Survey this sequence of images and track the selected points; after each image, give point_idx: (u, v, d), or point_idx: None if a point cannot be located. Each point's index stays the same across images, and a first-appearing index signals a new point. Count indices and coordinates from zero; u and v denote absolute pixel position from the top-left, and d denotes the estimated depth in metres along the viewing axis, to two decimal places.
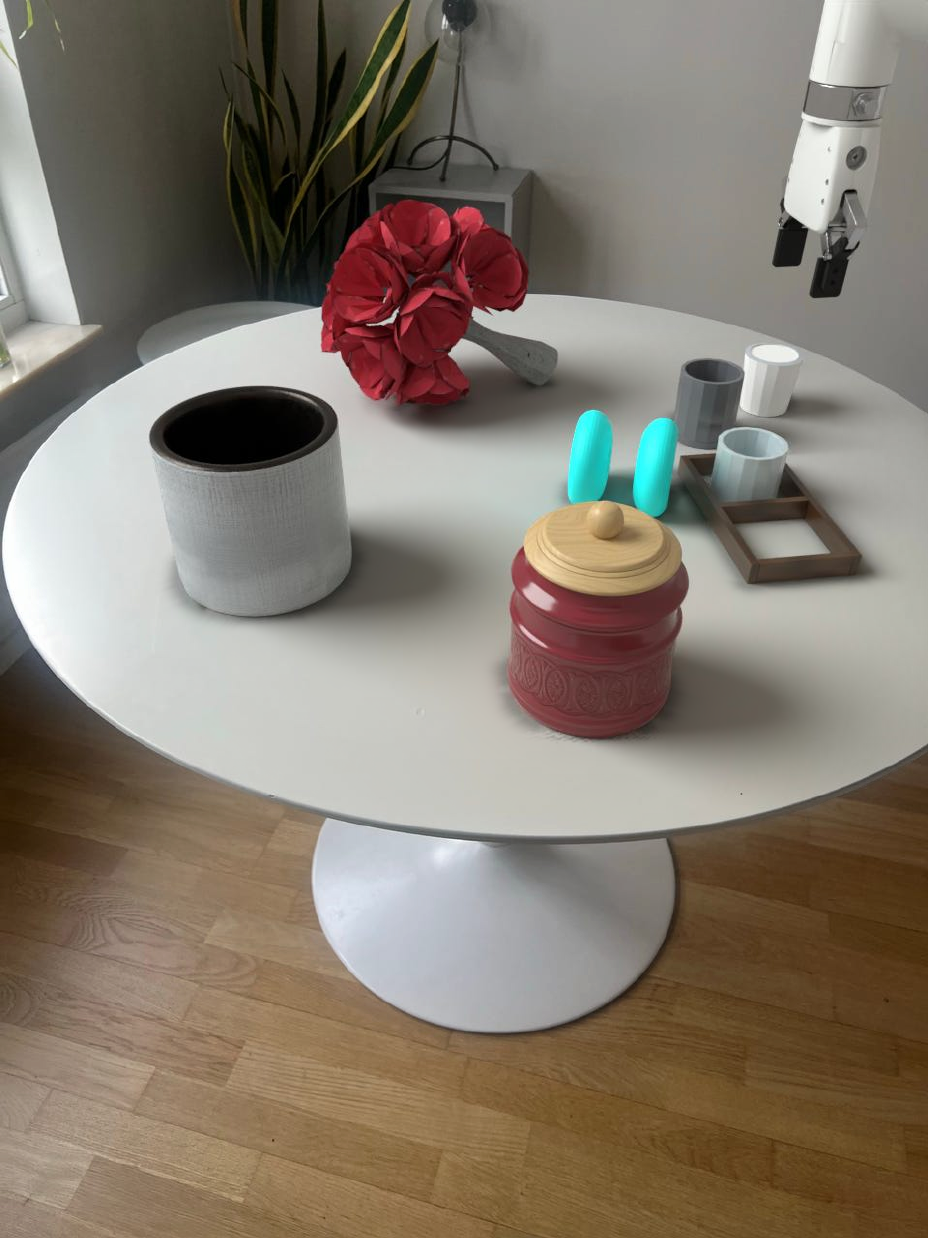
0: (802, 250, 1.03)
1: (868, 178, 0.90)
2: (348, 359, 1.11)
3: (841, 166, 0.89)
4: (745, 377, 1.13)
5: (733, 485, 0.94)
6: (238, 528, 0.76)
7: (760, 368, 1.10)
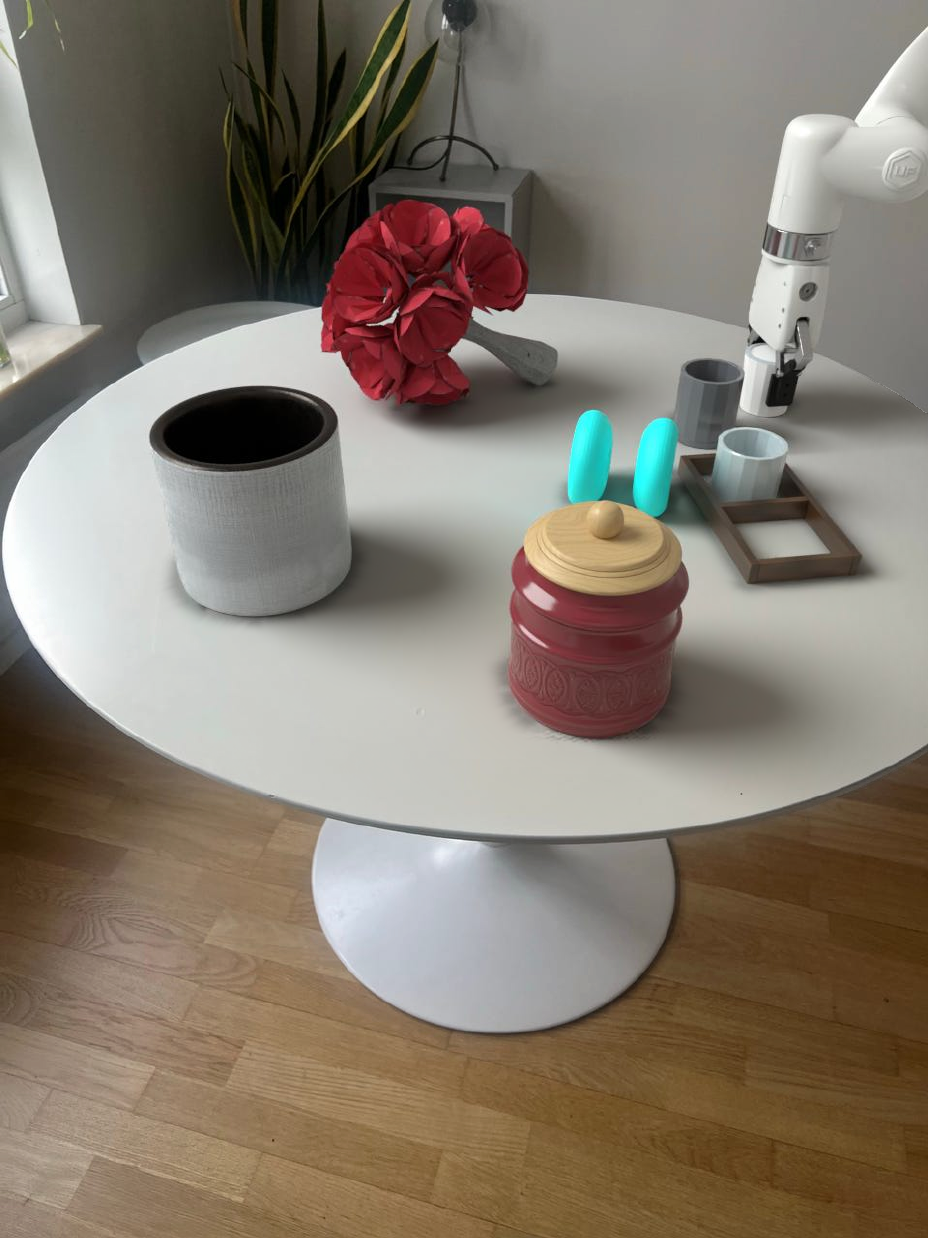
0: None
1: (819, 308, 1.03)
2: (348, 359, 1.11)
3: (795, 298, 1.02)
4: (745, 377, 1.13)
5: (733, 485, 0.94)
6: (238, 528, 0.76)
7: (760, 368, 1.10)
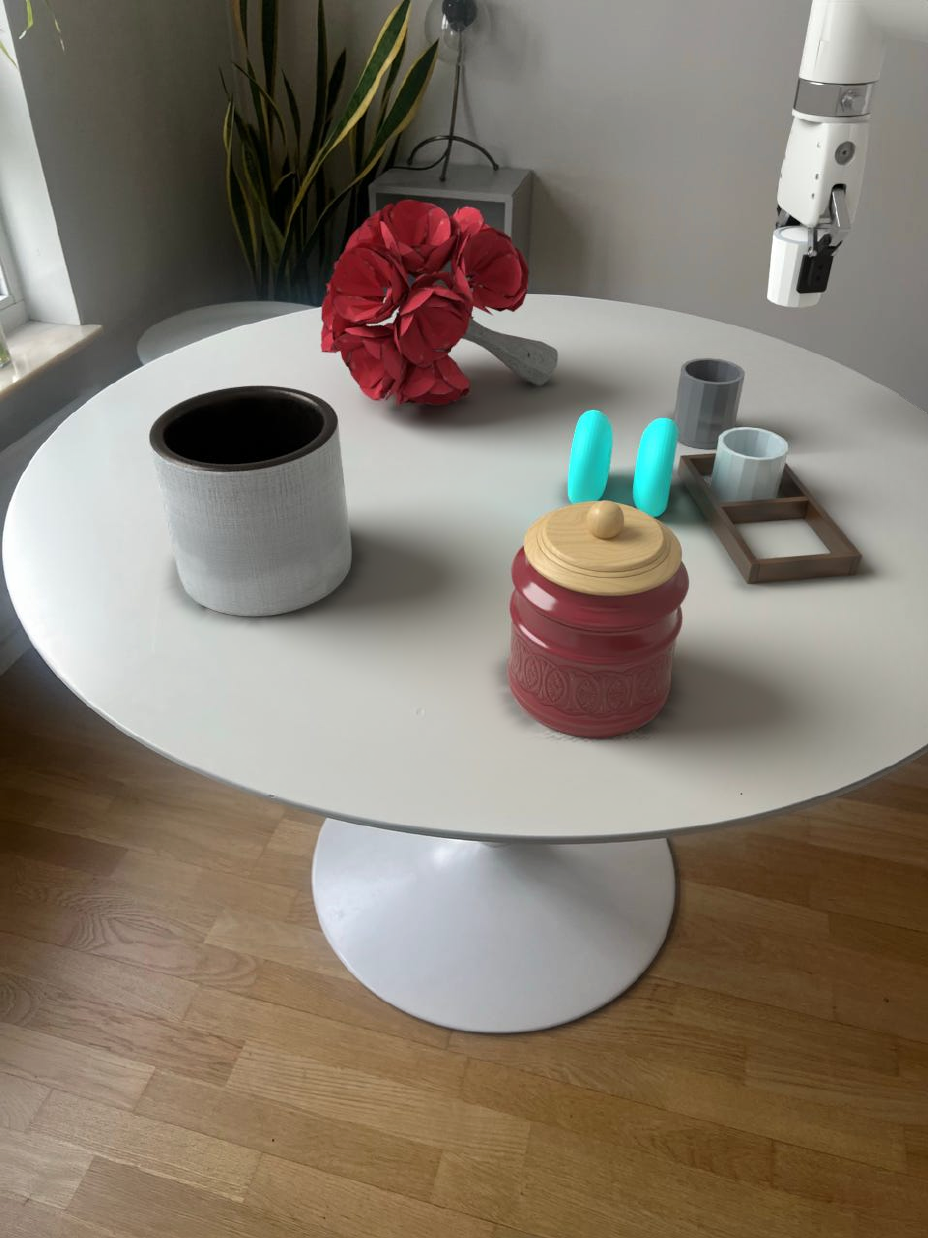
0: None
1: (857, 172, 0.92)
2: (348, 359, 1.11)
3: (830, 161, 0.92)
4: (773, 262, 1.02)
5: (733, 485, 0.94)
6: (238, 528, 0.76)
7: (790, 249, 0.99)
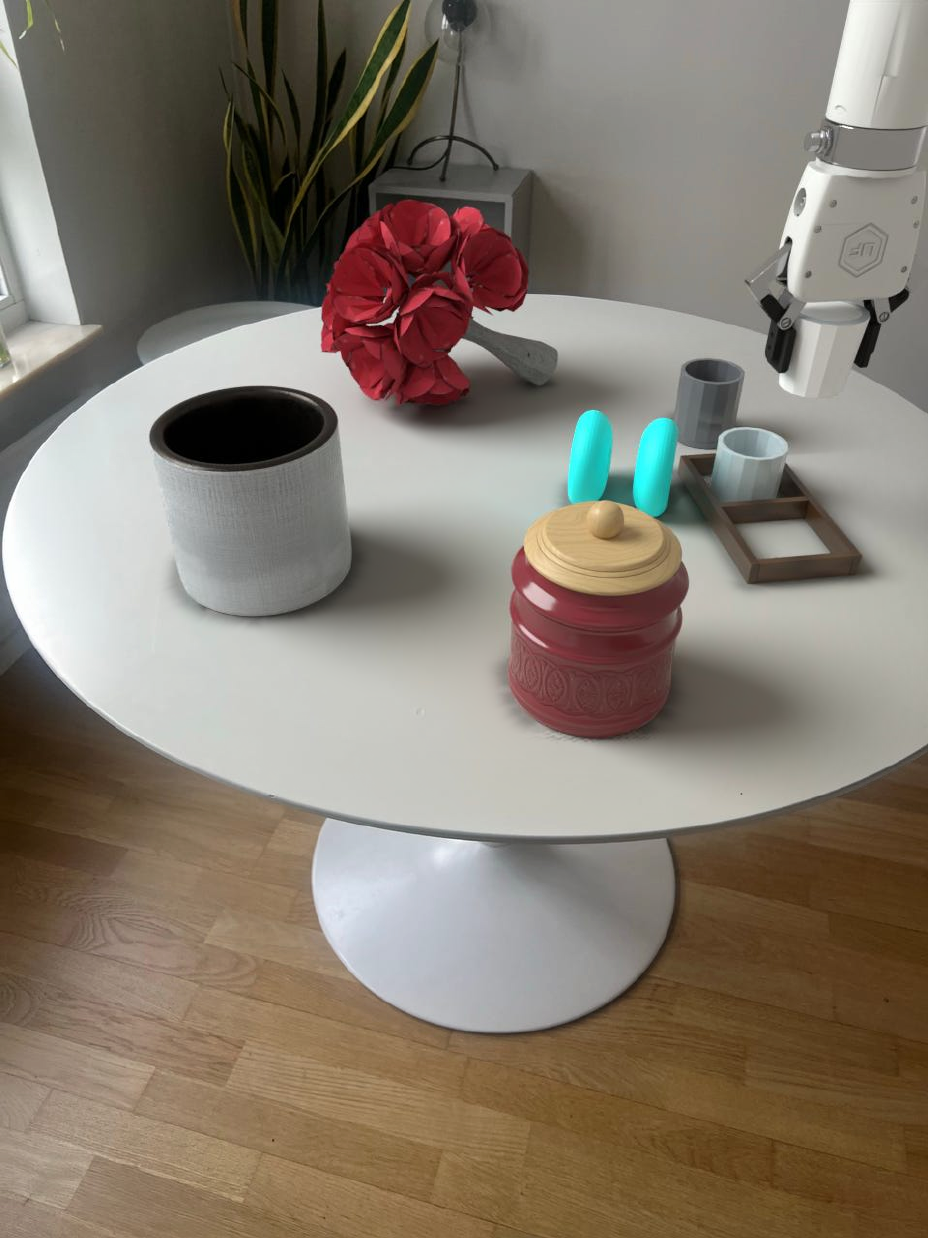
0: (863, 349, 0.82)
1: (801, 231, 0.74)
2: (348, 359, 1.11)
3: (791, 206, 0.76)
4: None
5: (733, 485, 0.94)
6: (238, 528, 0.76)
7: None
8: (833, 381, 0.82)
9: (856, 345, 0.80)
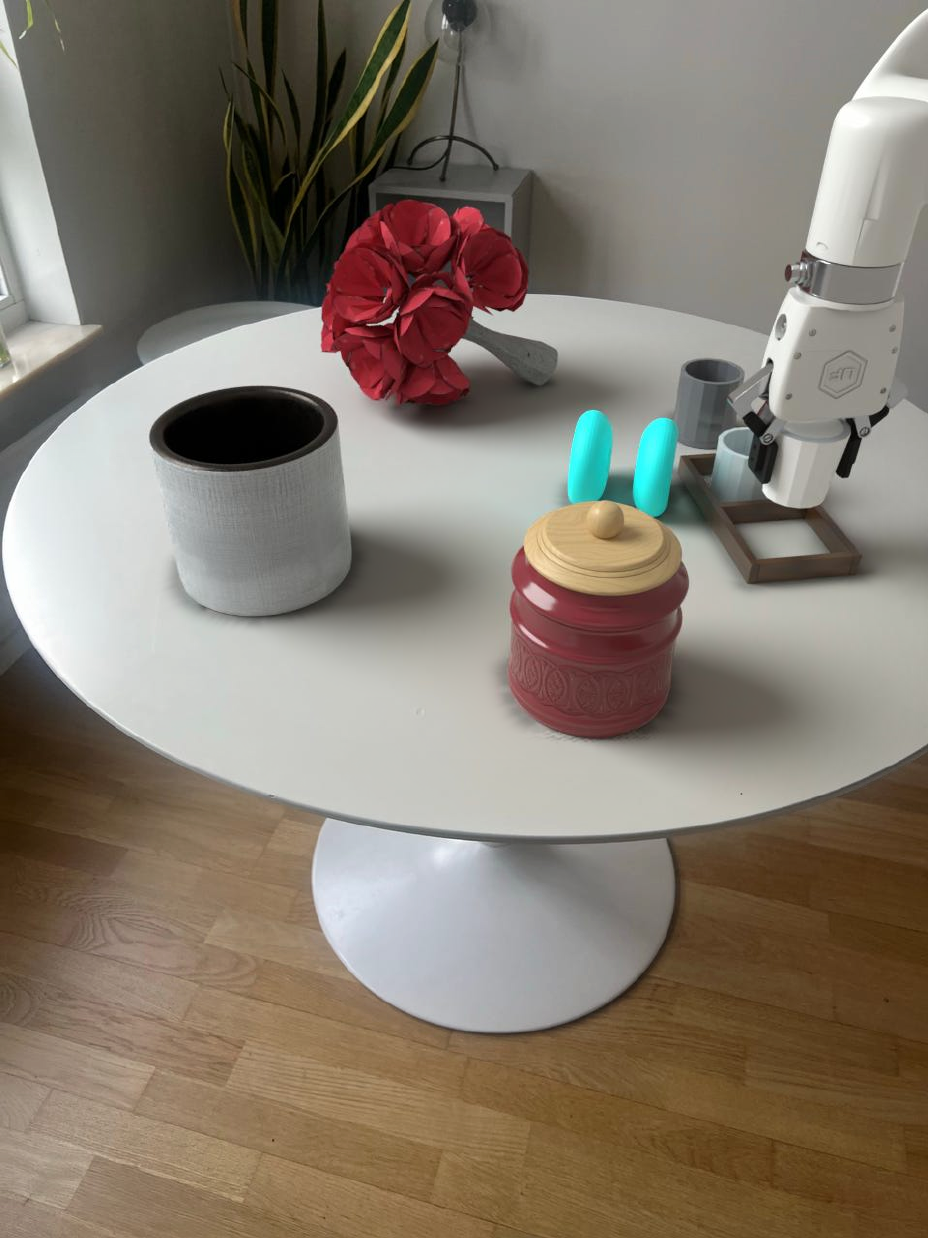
0: (844, 461, 0.83)
1: (782, 356, 0.76)
2: (348, 359, 1.11)
3: (773, 329, 0.77)
4: None
5: (733, 485, 0.94)
6: (238, 528, 0.76)
7: None
8: (814, 493, 0.83)
9: (837, 459, 0.82)
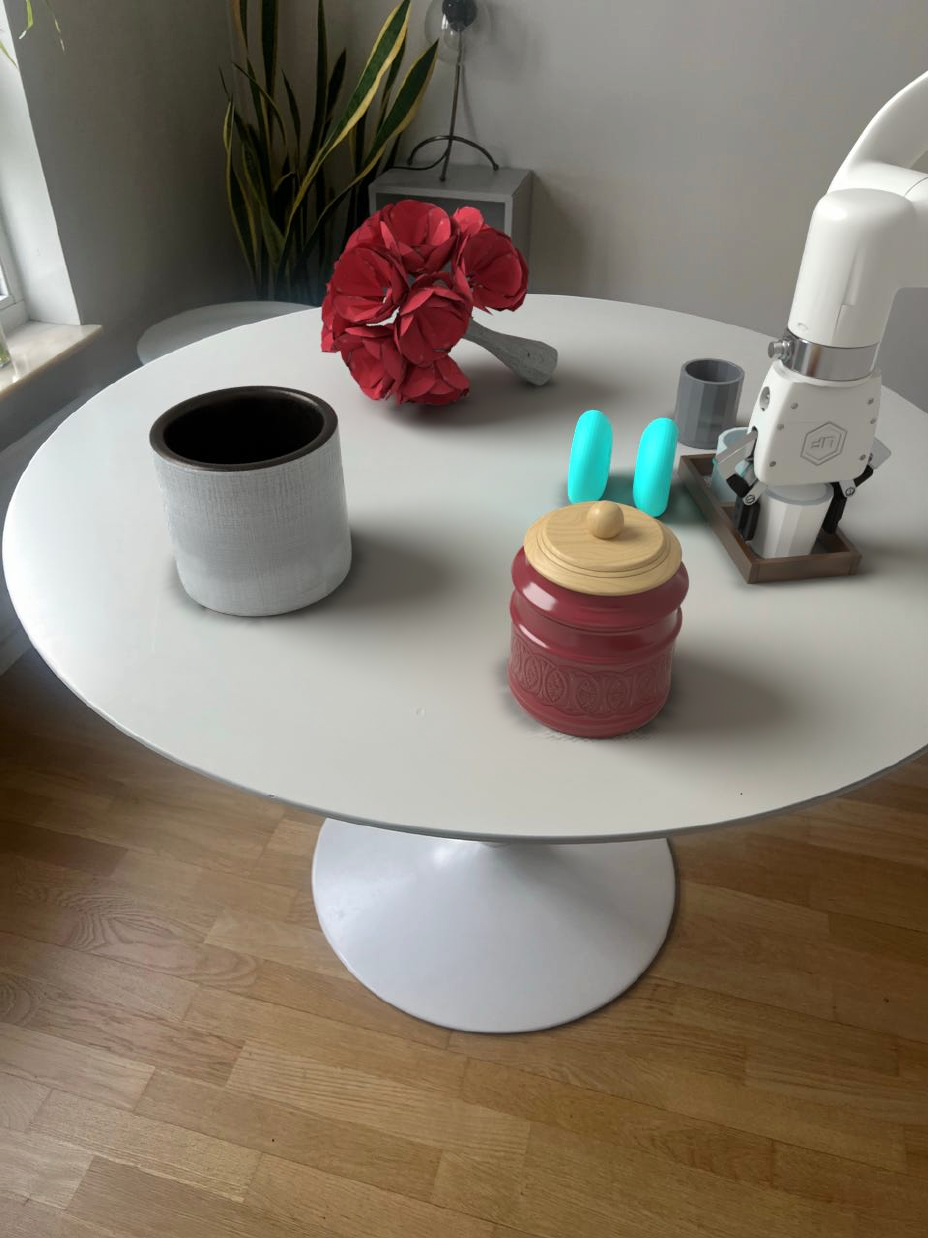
0: (831, 518, 0.87)
1: (766, 427, 0.80)
2: (348, 359, 1.11)
3: (758, 399, 0.81)
4: None
5: None
6: (238, 528, 0.76)
7: None
8: (799, 550, 0.87)
9: (820, 519, 0.85)
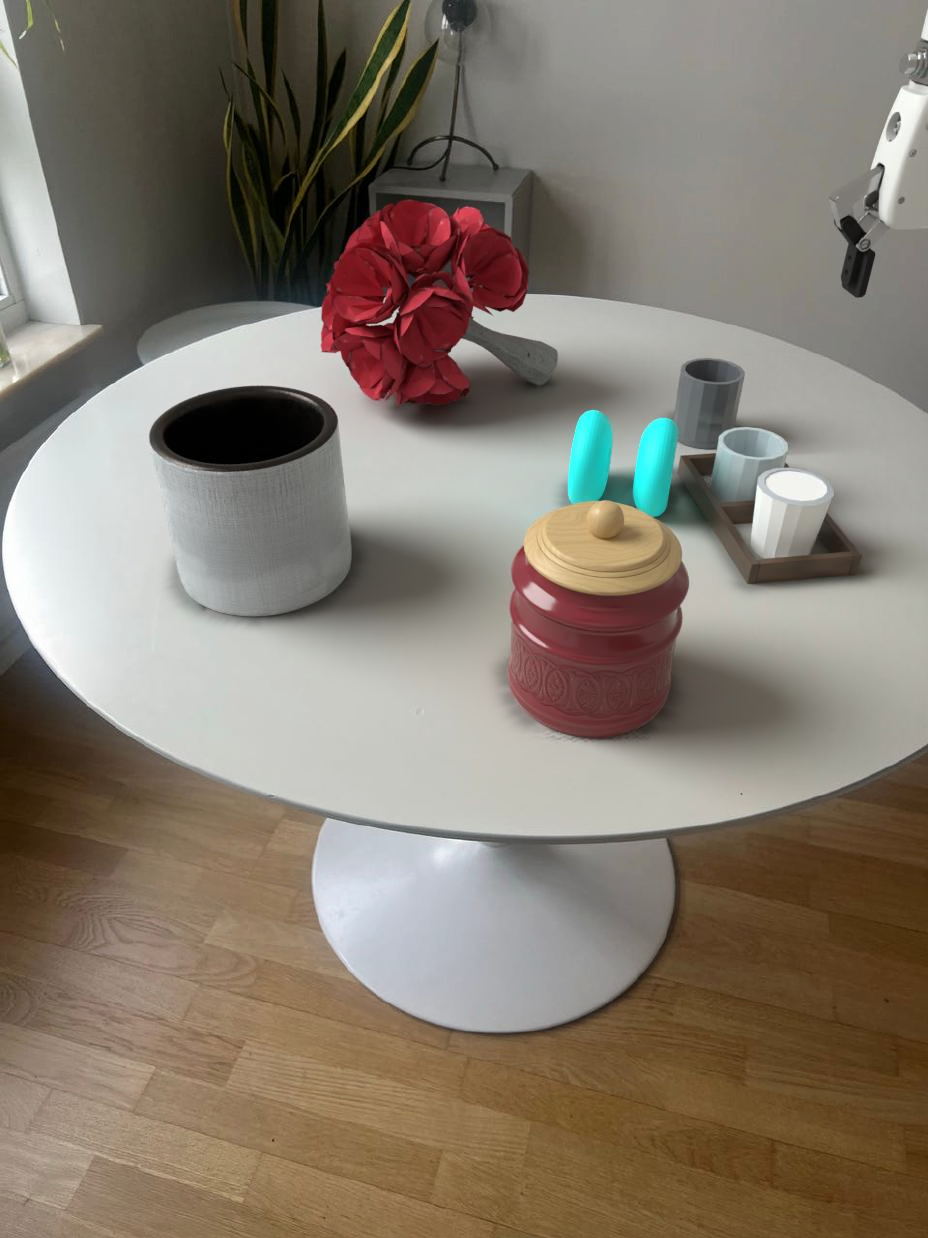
0: None
1: (895, 156, 0.74)
2: (348, 359, 1.11)
3: (883, 132, 0.76)
4: None
5: (733, 485, 0.94)
6: (238, 528, 0.76)
7: None
8: (799, 550, 0.87)
9: (820, 519, 0.85)
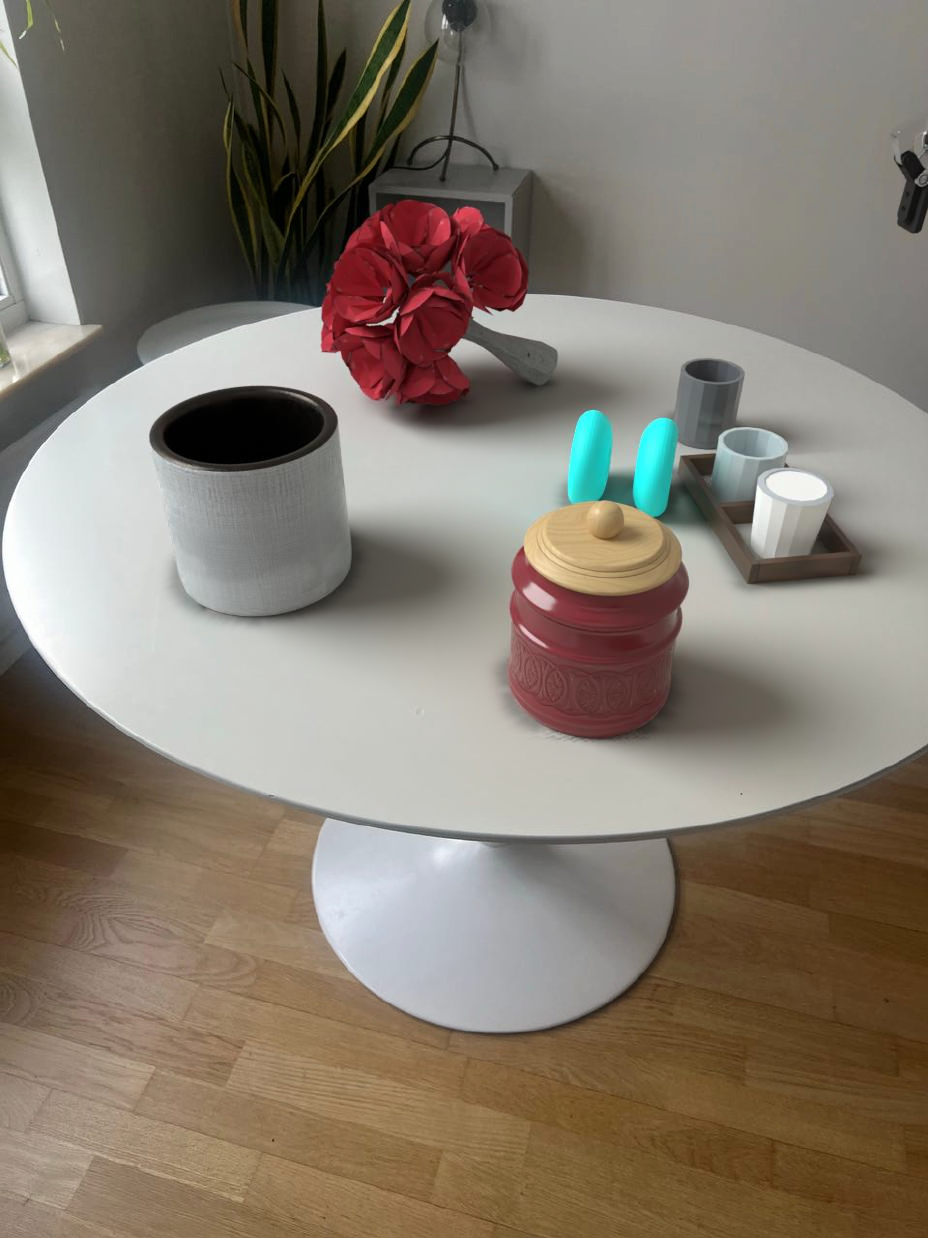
0: None
1: None
2: (348, 359, 1.11)
3: None
4: None
5: (733, 485, 0.94)
6: (238, 528, 0.76)
7: None
8: (799, 550, 0.87)
9: (820, 519, 0.85)
